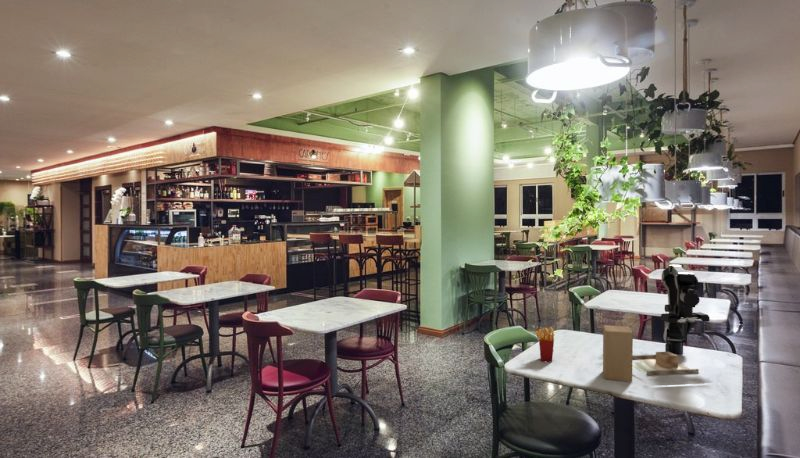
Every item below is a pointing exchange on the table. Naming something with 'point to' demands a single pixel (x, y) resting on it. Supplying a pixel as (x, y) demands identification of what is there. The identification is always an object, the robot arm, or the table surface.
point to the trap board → (658, 366)
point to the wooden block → (617, 353)
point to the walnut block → (667, 359)
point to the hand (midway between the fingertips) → (684, 337)
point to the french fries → (546, 344)
